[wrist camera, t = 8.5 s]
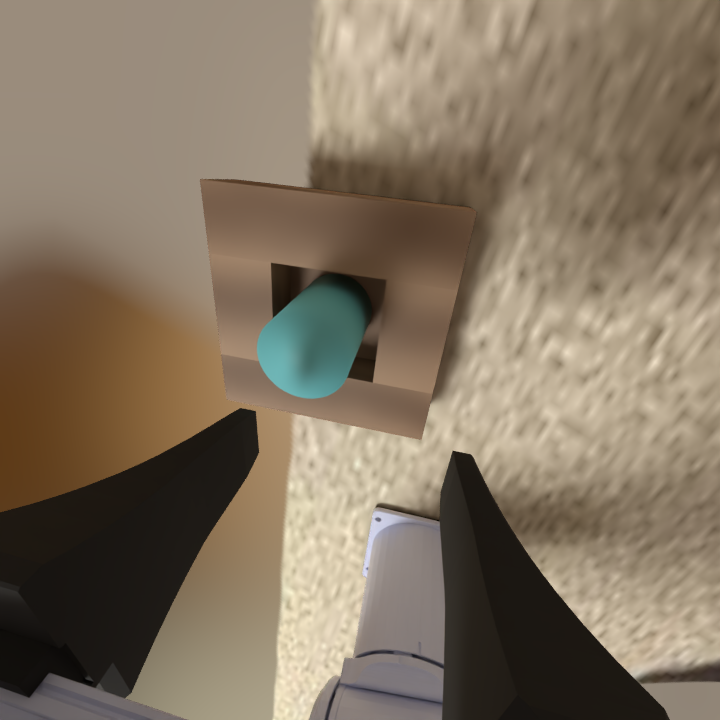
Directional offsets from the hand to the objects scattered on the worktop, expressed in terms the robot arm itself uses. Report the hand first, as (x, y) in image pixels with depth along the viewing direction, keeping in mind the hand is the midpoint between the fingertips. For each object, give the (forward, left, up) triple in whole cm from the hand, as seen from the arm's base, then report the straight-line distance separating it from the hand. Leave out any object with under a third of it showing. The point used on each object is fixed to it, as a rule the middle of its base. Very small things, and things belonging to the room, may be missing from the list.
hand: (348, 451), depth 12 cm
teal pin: (+2, +3, -9) cm, 9 cm away
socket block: (+2, +3, -9) cm, 10 cm away
